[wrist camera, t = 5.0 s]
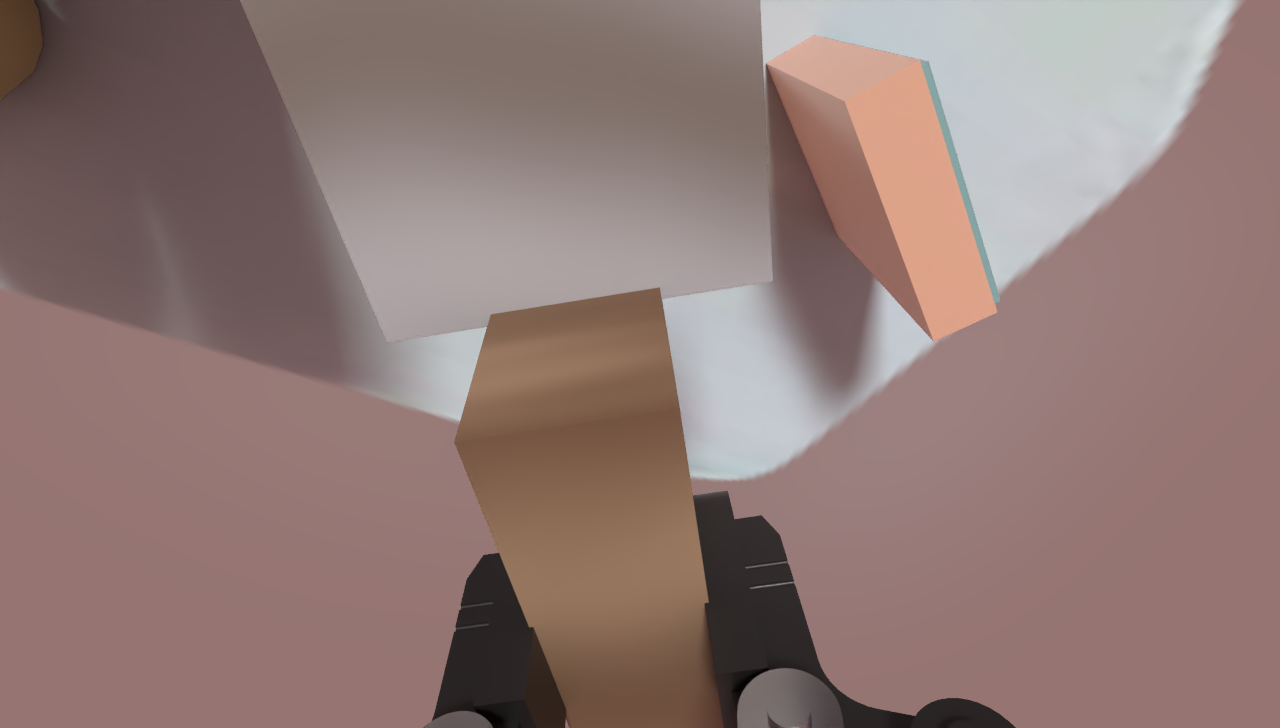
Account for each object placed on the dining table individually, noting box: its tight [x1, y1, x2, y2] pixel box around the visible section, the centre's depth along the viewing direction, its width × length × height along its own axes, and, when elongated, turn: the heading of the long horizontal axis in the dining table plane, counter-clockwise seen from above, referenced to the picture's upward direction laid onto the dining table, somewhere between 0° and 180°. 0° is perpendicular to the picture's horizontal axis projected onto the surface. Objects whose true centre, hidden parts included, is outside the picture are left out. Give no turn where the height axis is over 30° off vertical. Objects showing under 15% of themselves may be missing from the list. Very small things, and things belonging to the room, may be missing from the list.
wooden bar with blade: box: [240, 0, 773, 728], centre depth 11 cm, size 18×6×4 cm, turn 9°
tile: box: [766, 35, 1000, 341], centre depth 23 cm, size 2×8×10 cm, turn 29°
